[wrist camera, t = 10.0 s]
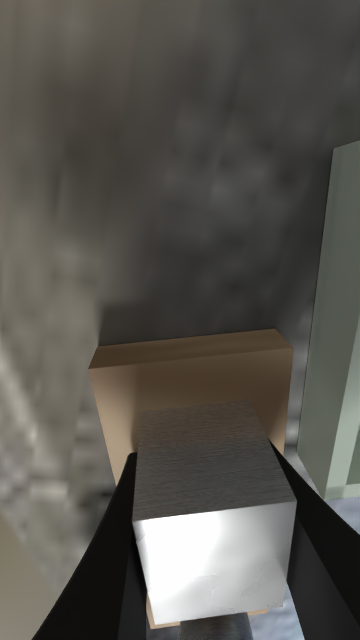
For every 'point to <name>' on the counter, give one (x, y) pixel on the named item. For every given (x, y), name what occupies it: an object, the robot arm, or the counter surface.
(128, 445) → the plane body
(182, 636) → the lever
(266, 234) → the counter surface
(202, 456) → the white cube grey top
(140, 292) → the counter surface
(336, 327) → the tray
